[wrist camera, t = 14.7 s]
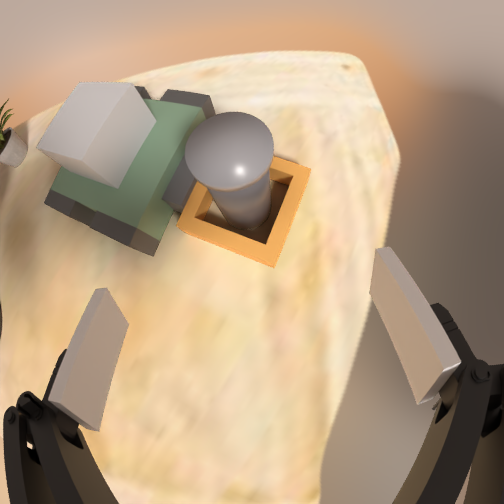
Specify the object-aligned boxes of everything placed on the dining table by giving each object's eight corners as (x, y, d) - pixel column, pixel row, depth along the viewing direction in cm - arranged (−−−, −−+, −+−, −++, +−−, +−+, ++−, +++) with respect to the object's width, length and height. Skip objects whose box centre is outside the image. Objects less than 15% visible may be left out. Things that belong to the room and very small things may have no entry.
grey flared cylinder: (209, 221, 31) (169, 171, 19) (232, 173, 32) (208, 104, 19) (262, 241, 30) (252, 198, 18) (282, 190, 31) (285, 124, 19)
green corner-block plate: (70, 215, 33) (7, 184, 21) (130, 107, 36) (92, 54, 23) (260, 302, 29) (249, 303, 17) (318, 153, 32) (336, 80, 19)
